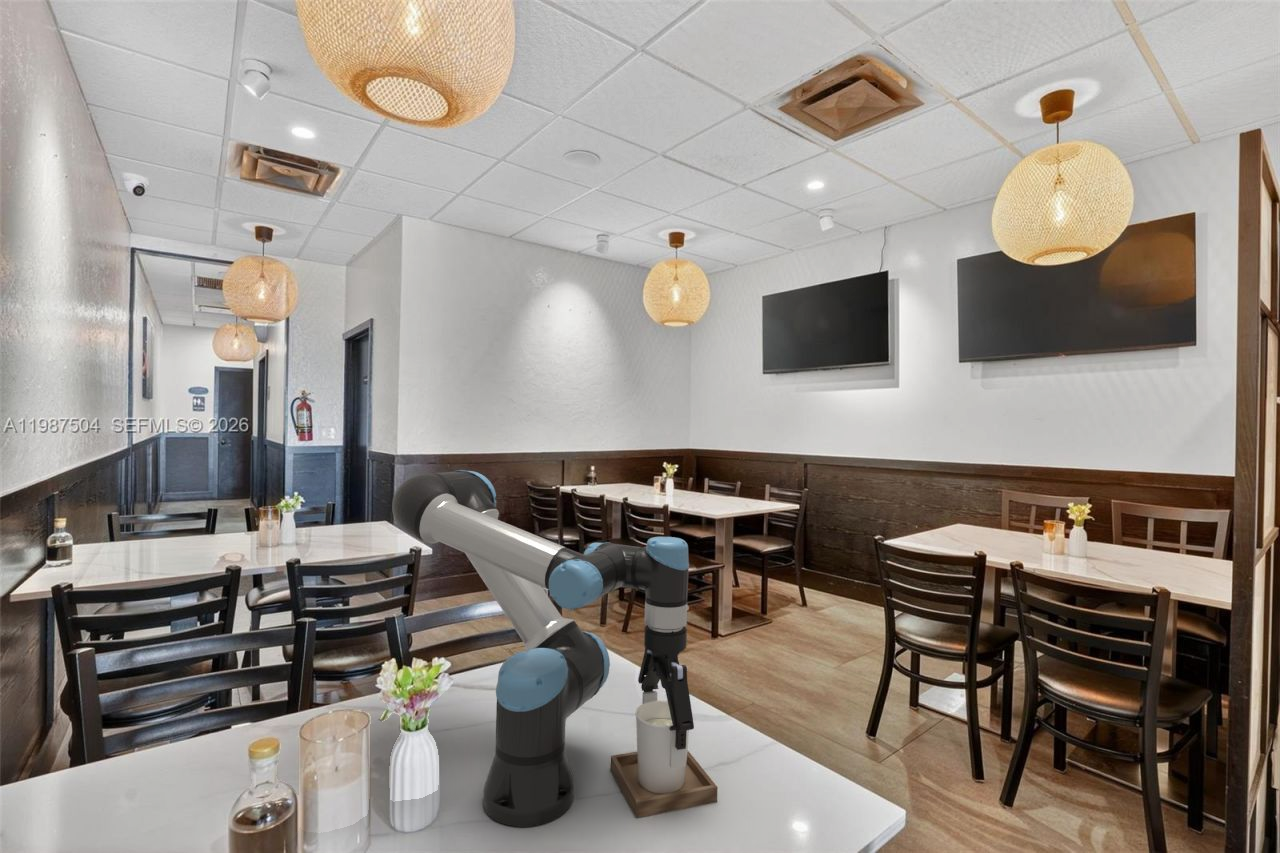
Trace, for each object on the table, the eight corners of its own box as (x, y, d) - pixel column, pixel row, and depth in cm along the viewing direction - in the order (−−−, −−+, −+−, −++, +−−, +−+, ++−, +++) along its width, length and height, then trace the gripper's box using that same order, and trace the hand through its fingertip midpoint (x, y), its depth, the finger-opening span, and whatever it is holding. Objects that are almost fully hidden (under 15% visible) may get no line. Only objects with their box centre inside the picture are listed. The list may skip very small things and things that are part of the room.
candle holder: (689, 767, 111) (691, 702, 111) (688, 799, 101) (690, 728, 101) (636, 762, 112) (638, 698, 112) (630, 794, 102) (632, 723, 102)
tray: (636, 818, 97) (636, 802, 97) (610, 769, 111) (610, 755, 111) (717, 801, 102) (717, 786, 102) (682, 757, 116) (682, 744, 116)
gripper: (716, 648, 96) (713, 780, 96) (659, 604, 120) (656, 710, 120) (673, 652, 94) (669, 788, 94) (624, 607, 117) (620, 715, 117)
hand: (662, 745), depth 107 cm, fingers open, 13 cm apart
